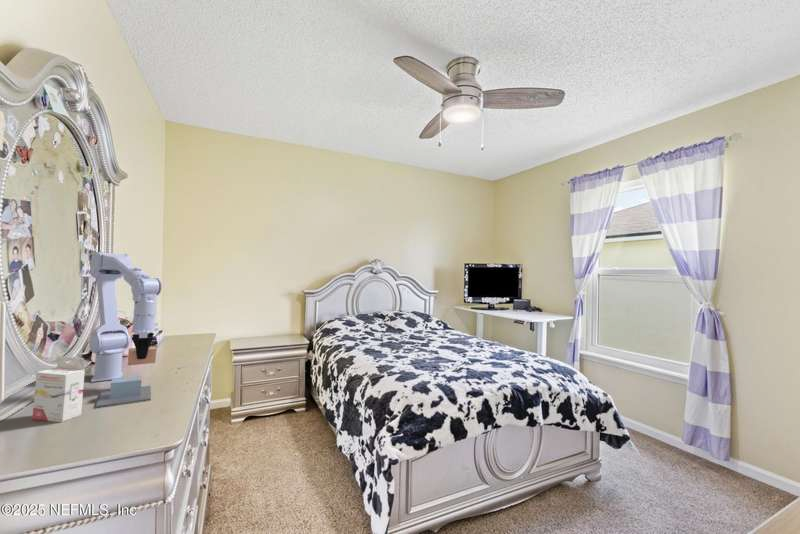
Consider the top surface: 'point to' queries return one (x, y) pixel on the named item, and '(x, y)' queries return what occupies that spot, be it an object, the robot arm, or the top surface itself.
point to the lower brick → (125, 387)
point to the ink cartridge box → (59, 391)
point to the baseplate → (123, 398)
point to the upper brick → (134, 361)
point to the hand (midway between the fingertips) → (141, 357)
